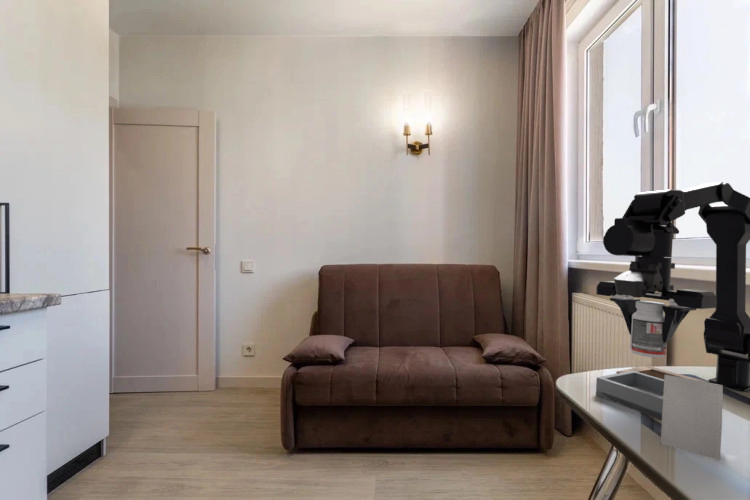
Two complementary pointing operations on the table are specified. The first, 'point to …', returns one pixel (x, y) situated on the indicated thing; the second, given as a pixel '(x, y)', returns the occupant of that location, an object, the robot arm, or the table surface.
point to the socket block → (656, 372)
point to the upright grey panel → (692, 416)
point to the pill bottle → (648, 330)
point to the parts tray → (633, 391)
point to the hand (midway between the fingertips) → (648, 338)
